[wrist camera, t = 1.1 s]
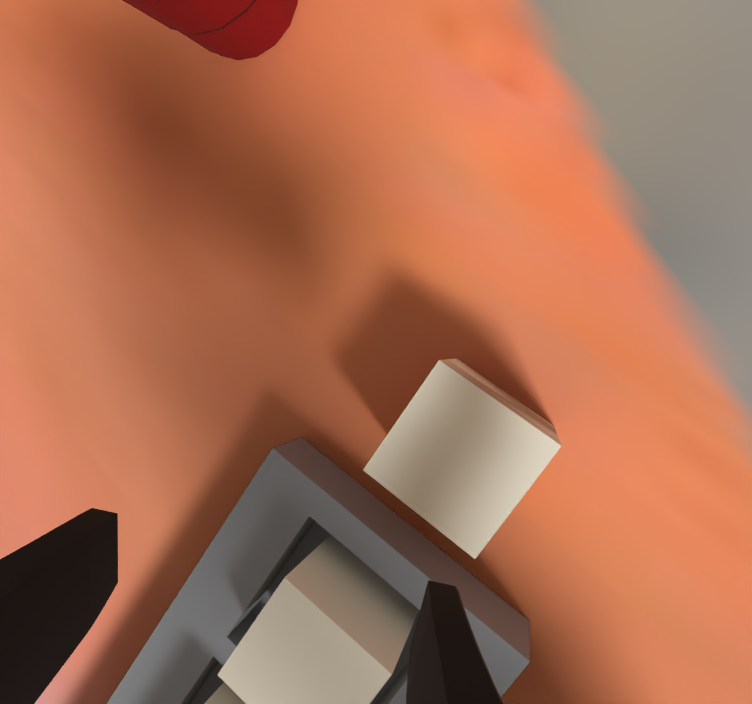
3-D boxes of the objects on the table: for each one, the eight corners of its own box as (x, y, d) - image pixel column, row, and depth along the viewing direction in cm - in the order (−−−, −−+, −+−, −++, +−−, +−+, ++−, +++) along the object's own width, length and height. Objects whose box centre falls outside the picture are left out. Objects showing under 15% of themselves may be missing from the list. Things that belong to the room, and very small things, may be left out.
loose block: (553, 425, 22) (561, 445, 17) (485, 515, 23) (474, 559, 18) (457, 358, 23) (438, 359, 18) (395, 446, 24) (362, 470, 19)
